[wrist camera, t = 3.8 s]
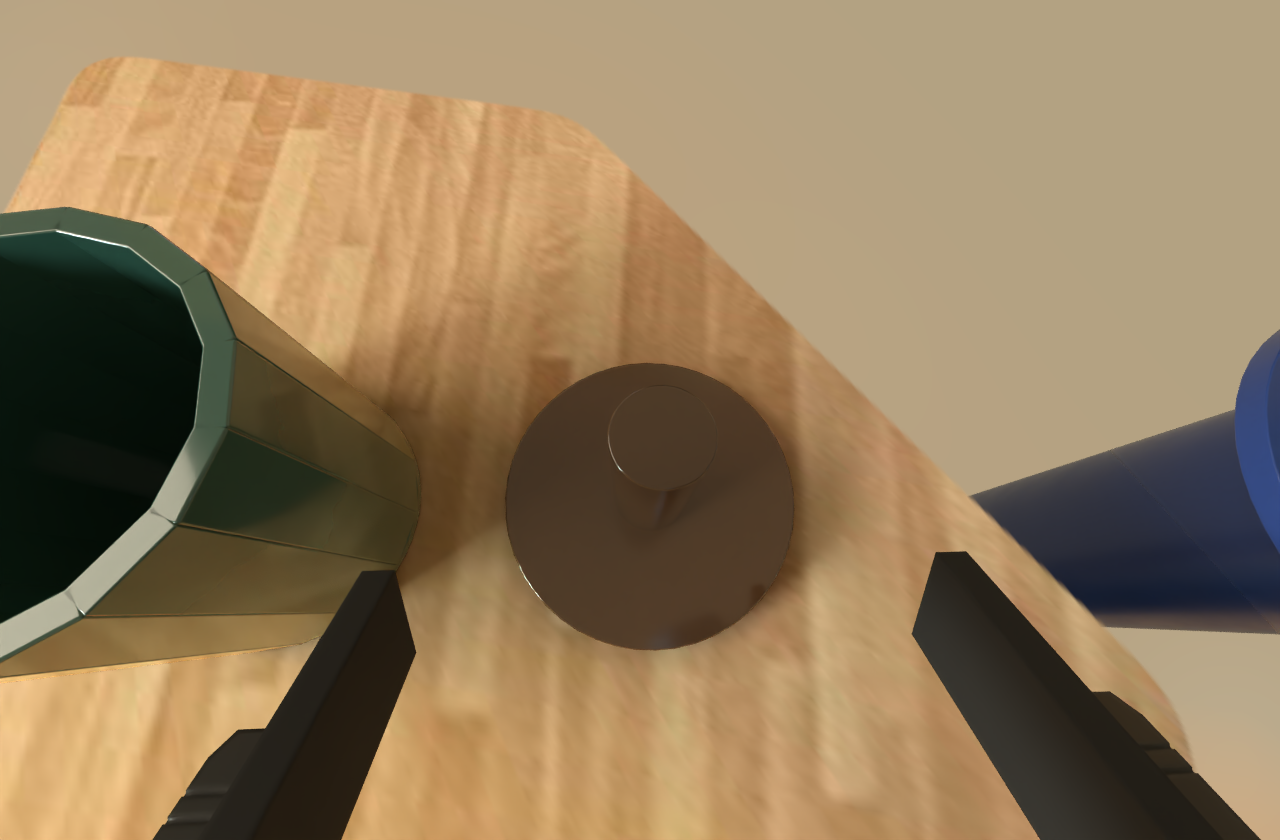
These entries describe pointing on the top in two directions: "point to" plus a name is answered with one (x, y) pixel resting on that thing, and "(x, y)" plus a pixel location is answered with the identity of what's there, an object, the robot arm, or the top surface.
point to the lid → (649, 506)
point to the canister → (172, 460)
